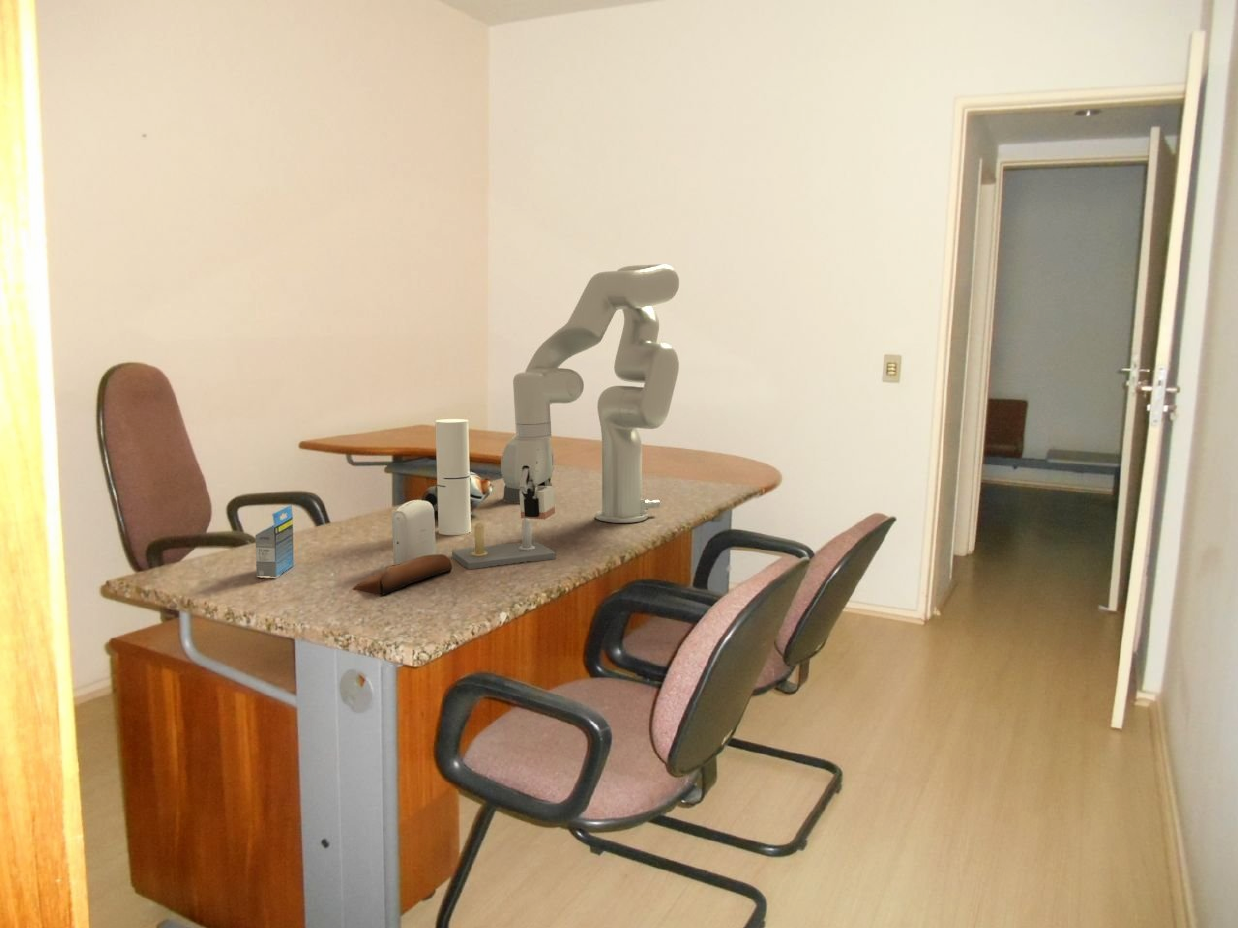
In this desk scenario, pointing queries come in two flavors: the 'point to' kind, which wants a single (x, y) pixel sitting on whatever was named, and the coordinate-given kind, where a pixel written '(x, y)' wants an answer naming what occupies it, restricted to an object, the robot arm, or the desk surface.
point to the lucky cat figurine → (477, 492)
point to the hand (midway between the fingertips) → (537, 512)
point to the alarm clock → (512, 471)
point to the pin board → (502, 550)
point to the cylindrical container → (453, 476)
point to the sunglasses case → (405, 574)
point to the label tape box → (275, 545)
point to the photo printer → (413, 531)
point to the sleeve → (541, 502)
